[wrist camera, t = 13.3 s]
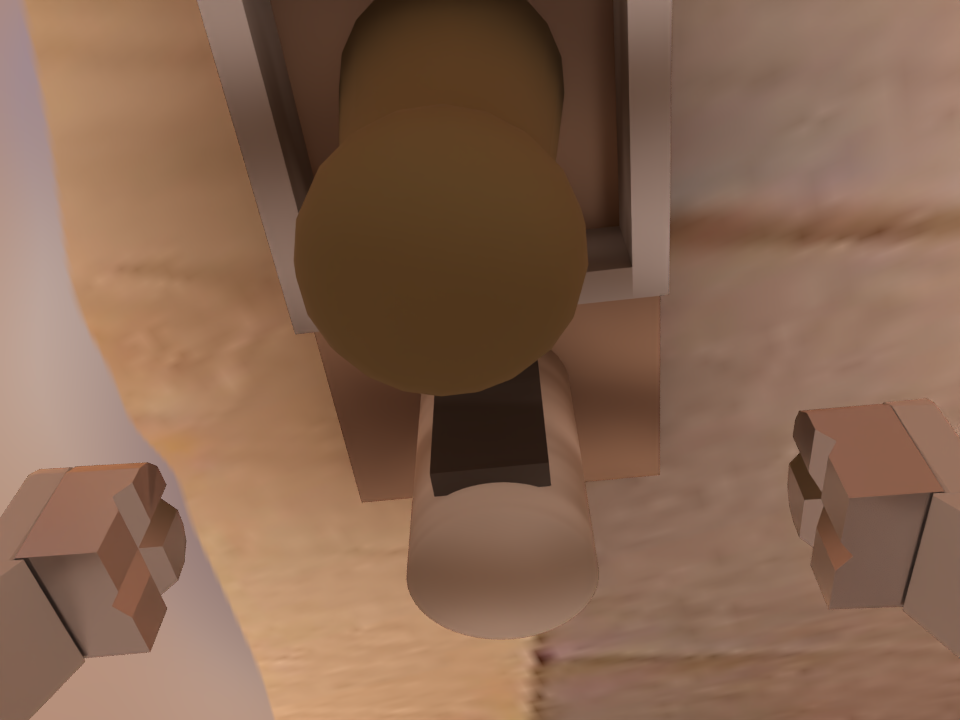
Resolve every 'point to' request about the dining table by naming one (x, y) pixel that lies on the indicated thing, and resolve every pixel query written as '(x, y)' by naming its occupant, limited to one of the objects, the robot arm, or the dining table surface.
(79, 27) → the dining table surface
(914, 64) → the dining table surface
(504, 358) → the olive brown pawn
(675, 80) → the dining table surface
